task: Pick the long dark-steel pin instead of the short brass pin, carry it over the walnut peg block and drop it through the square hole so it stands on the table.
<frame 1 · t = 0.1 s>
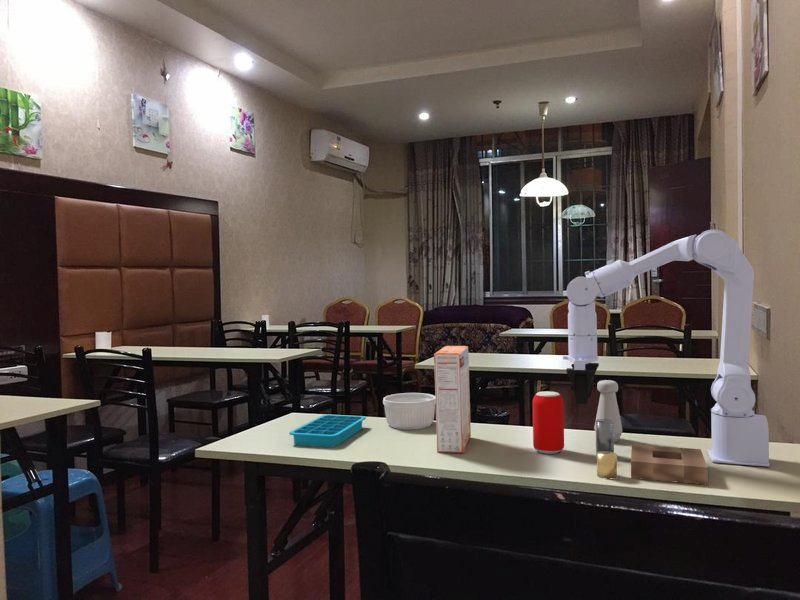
hand: (583, 400, 124), 10 cm above the table, tool pointing down, fingers open, 7 cm apart
ramekin: (410, 425, 149), on the table
short pin: (607, 476, 106), on the table
hole block: (667, 471, 108), on the table
ice cube tray: (329, 437, 140), on the table
salt shaker: (608, 440, 131), on the table
beverage can: (548, 452, 123), on the table
long pin: (605, 455, 119), on the table
cracker box: (454, 445, 129), on the table
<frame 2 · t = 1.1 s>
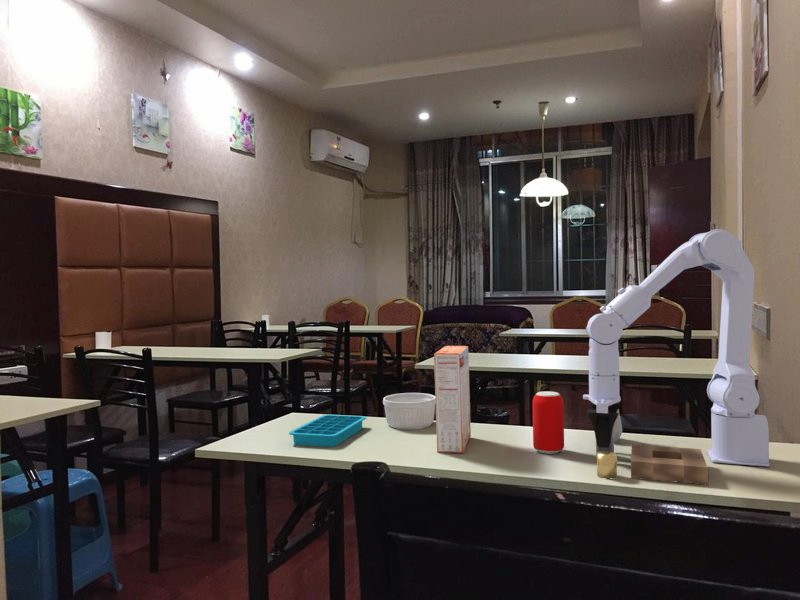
hand: (604, 442, 119), 3 cm above the table, tool pointing down, fingers open, 7 cm apart
nothing on the table moved.
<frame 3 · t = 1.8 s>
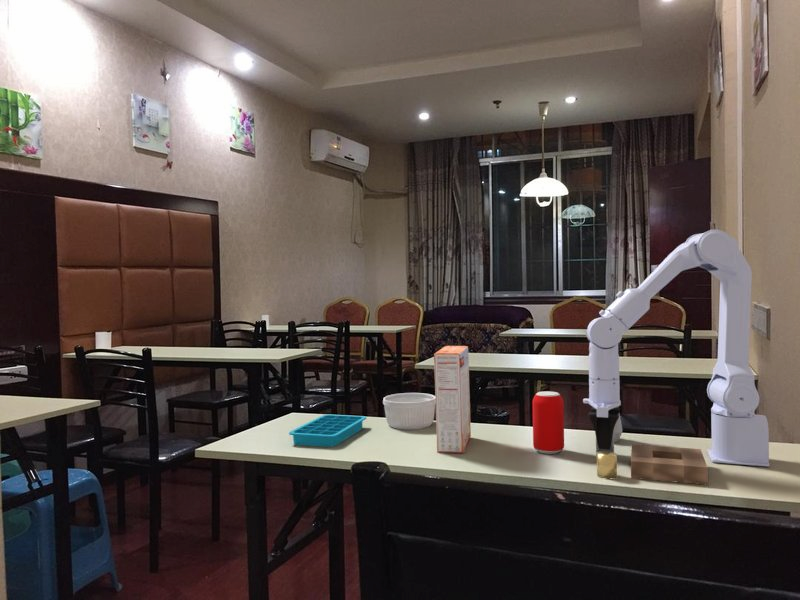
hand: (605, 446, 119), 2 cm above the table, tool pointing down, fingers closed on long pin, 3 cm apart
long pin: (605, 455, 119), on the table, touching gripper
everything else where it was.
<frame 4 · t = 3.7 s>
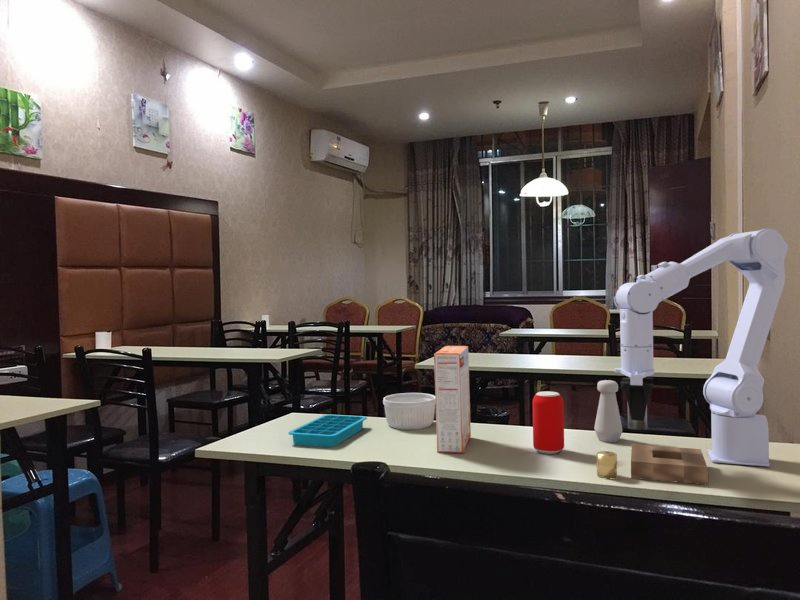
hand: (637, 417, 113), 9 cm above the table, tool pointing down, fingers closed on long pin, 3 cm apart
long pin: (637, 427, 113), point 7 cm above the table, touching gripper
everything else where it was.
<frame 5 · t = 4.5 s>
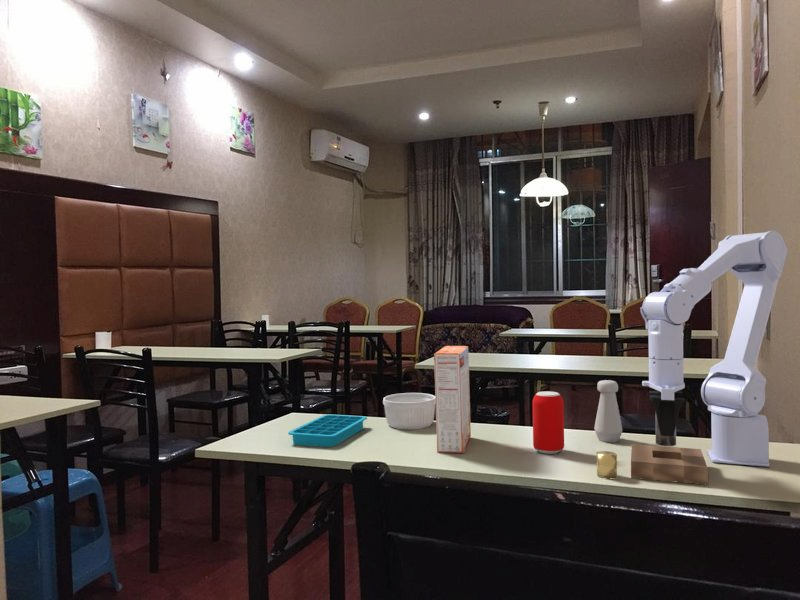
hand: (666, 433, 108), 7 cm above the table, tool pointing down, fingers closed on long pin, 3 cm apart
long pin: (665, 443, 108), point 5 cm above the table, touching gripper
everything else where it was.
when the fingers open (4 cm above the table, at t = 5.3 s): long pin drops 3 cm, resting in hole block.
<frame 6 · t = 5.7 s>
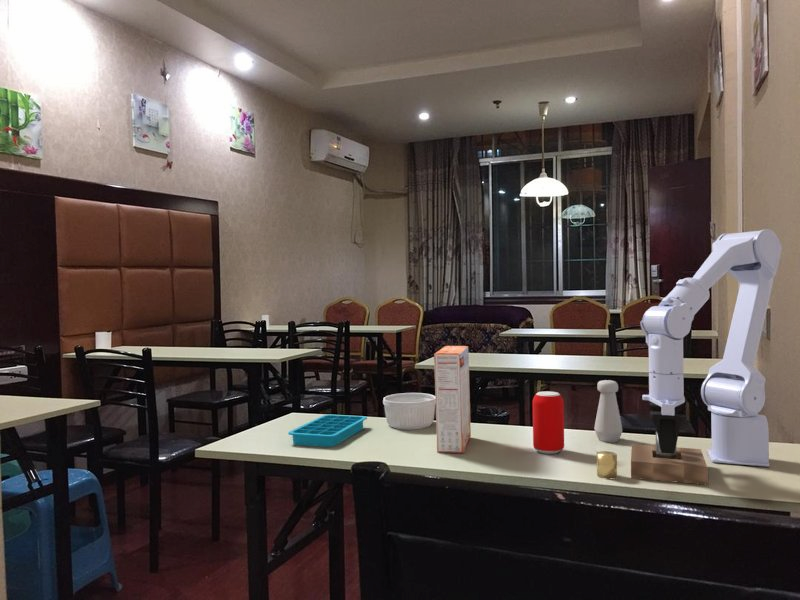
hand: (666, 447, 108), 4 cm above the table, tool pointing down, fingers open, 7 cm apart
long pin: (666, 471, 108), resting in hole block
everything else where it was.
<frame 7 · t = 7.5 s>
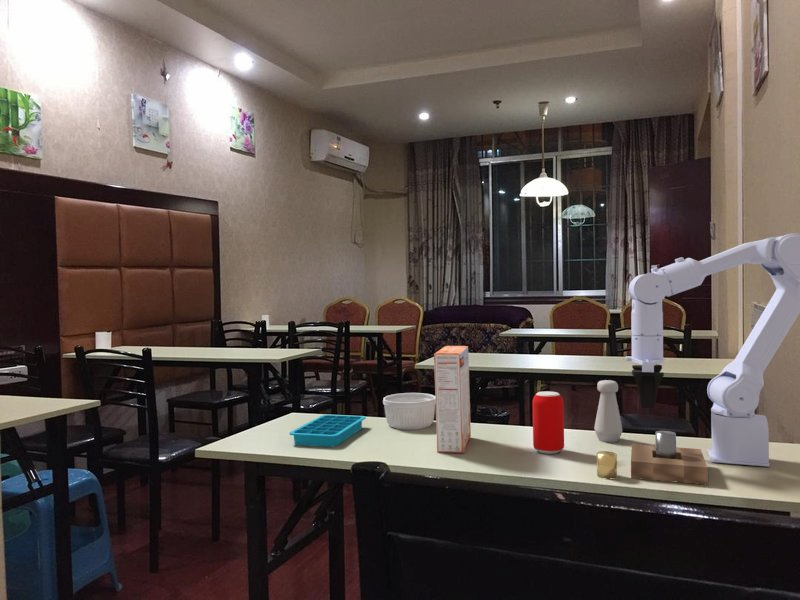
hand: (647, 404, 117), 10 cm above the table, tool pointing down, fingers open, 7 cm apart
nothing on the table moved.
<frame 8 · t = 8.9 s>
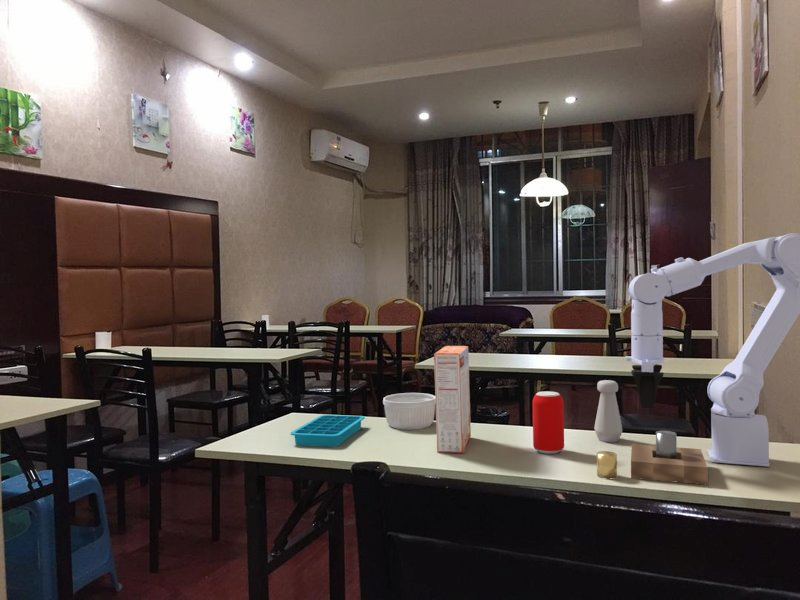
hand: (647, 404, 117), 10 cm above the table, tool pointing down, fingers open, 7 cm apart
nothing on the table moved.
at the end: long pin 0.1 cm off-centre on the hole block, point 0.0 cm above the hole block's base; long pin tilted 1°; short pin moved 0.1 cm from its start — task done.
